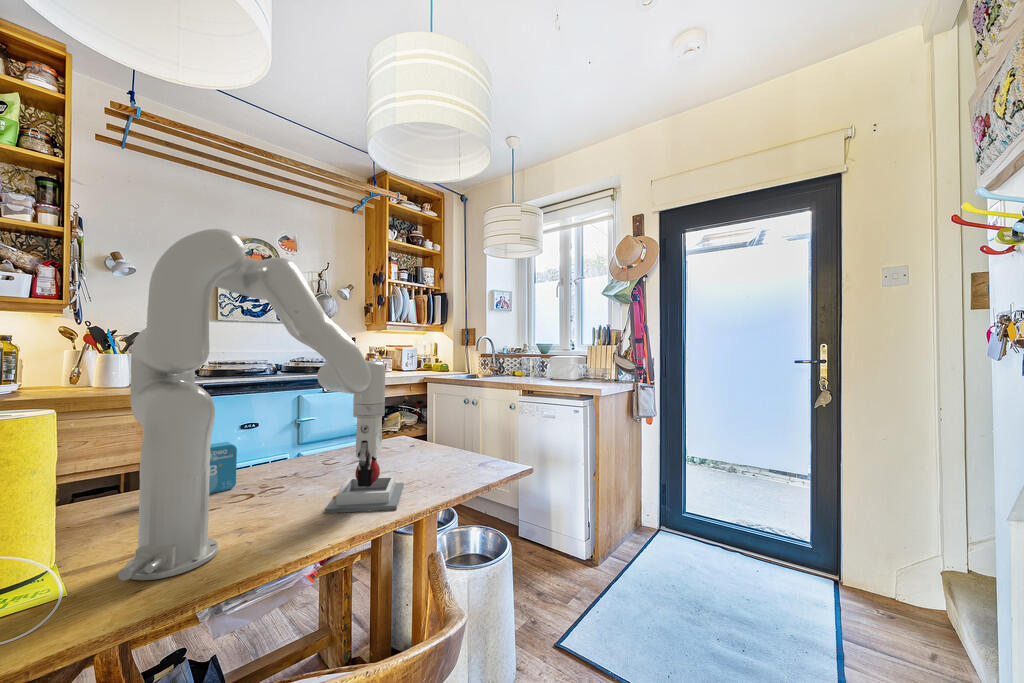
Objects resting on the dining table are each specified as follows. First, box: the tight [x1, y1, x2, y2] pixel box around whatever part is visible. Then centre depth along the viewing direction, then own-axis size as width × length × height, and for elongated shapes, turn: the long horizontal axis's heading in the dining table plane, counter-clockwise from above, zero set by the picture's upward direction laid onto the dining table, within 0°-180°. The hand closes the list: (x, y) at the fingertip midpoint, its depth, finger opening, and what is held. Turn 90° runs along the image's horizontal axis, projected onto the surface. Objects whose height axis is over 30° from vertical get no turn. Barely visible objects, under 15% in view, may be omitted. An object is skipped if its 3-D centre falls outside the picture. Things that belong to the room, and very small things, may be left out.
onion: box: [354, 455, 381, 487], centre depth 101 cm, size 6×6×8 cm
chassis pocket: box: [324, 475, 405, 514], centre depth 101 cm, size 16×16×4 cm
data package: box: [209, 441, 238, 495], centre depth 104 cm, size 12×4×12 cm, turn 138°
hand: (367, 480), depth 101 cm, fingers closed on onion, 5 cm apart
